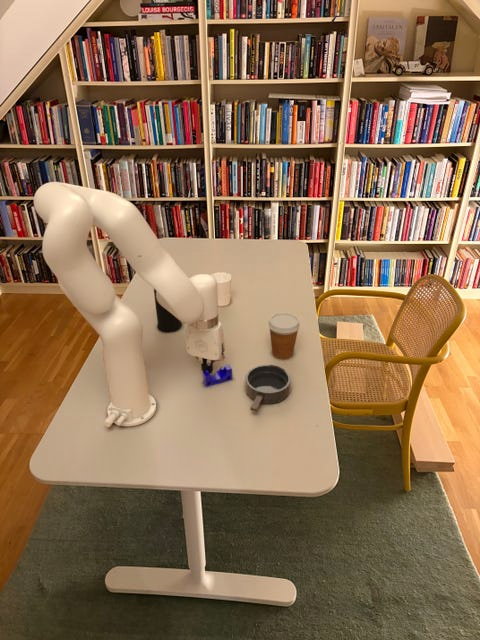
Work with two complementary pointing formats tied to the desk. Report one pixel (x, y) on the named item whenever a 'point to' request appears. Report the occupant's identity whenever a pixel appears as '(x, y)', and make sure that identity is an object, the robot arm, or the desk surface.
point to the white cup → (223, 287)
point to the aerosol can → (166, 318)
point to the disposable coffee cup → (283, 334)
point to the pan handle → (257, 402)
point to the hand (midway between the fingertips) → (207, 373)
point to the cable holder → (217, 376)
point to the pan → (268, 383)
